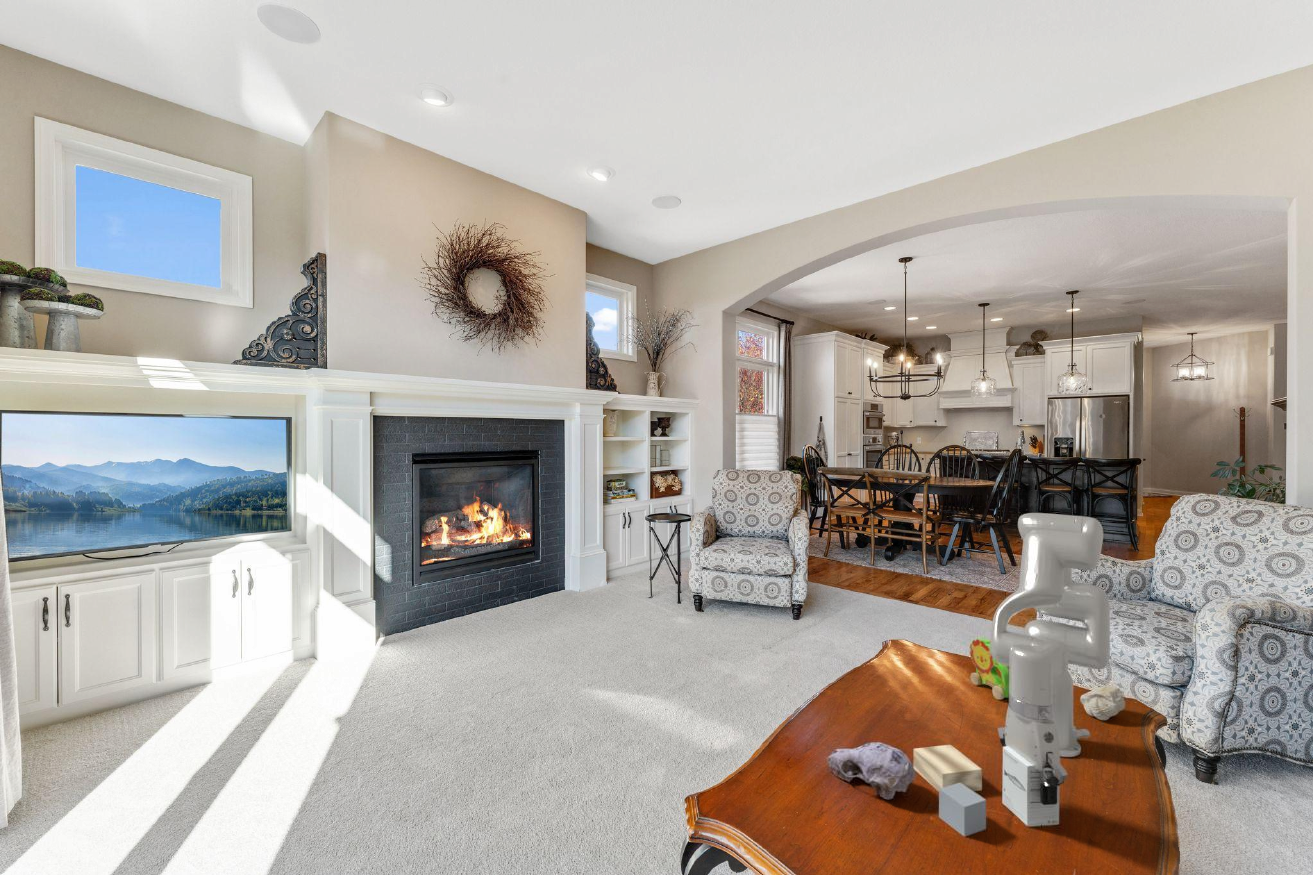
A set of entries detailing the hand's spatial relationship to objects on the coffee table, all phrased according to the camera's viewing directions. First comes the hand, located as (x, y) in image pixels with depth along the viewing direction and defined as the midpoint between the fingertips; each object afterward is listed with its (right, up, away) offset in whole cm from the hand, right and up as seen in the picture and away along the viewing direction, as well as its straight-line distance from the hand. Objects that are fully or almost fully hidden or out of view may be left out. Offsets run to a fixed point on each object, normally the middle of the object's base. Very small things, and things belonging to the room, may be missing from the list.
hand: (1029, 788), depth 115 cm
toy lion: (+27, -6, +57) cm, 63 cm away
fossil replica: (+49, -6, +42) cm, 65 cm away
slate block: (-16, -6, -2) cm, 17 cm away
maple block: (-11, -6, +12) cm, 18 cm away
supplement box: (0, -6, 0) cm, 6 cm away
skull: (-29, -6, +11) cm, 32 cm away
